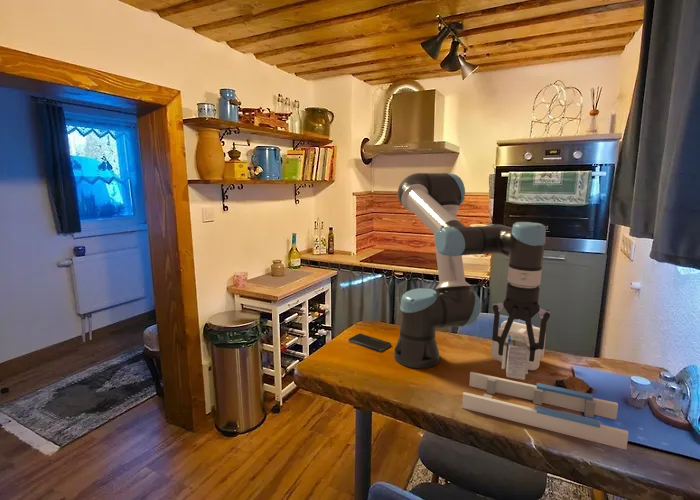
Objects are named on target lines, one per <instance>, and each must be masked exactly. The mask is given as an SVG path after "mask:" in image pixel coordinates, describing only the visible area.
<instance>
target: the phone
mask: <svg viewBox="0 0 700 500" xmlns="http://www.w3.org/2000/svg"><path fill="white" fill-rule="evenodd" d="M348 343H352V344H354V345H357V346H360V347H363V348H365V349H368V350H372V351H374V352H378V353H382V352H384V351H385V350H387V349H389V348H391V347H392V343H391V342H390V341H386V340H383V339H379V338H376V337H374V336H370V335H368V334H364V333H357V334H355V335H353V336H351V337H350V338H348Z"/></svg>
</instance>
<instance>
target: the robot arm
mask: <svg viewBox="0 0 700 500" xmlns="http://www.w3.org/2000/svg"><path fill="white" fill-rule="evenodd" d="M465 195H466V188H465V184H464V182H463V180H462V178H461V177H460V176H459V175H457V174H455V173H449V172H437V173H436V172H435V173H434V172H433V173H432V172H430V173H429V172H417V173H412V174H409V175H408V176H407V177H405V178H404V179H403V180H402V181H401V182H400V184H399V186H398V188H397V199H398V201H399V203H400V205H401V206H402V207H403V208H404V209H405V210H406V211H409V212H412V213H413V214H414V215H415V216H416V217H417V218H418V220H420V222H422V223H423V224H424V225H425V227H426V228H428V230H429V231H430V232H431V233H432V234H433V238H434V247H435V255H436V257H435V258H436V265H437V272H438V280H439V283H438V285H437V286H436V287H435V290H434V289H432V288H423V287H422V288H420V287H419V288H414V289H409V290H408V291H406V292H405V293H403V294H402V296H401V298H400V299H401V300H400V306H399V308H400V317H399V319H400V323H399V328H400V329H399V336H398V340H397V343H396V344H395V348H394V350H393V351H394V354H393V358H394V359H395V361H396V362H397V363H398V364H399V365H402V366H405V367H408V368H414V369H428V368H432V367H435V366H437V365H438V364H439V362H440V351H439V346H438V344H437V340H436V329H442V328H443V329H444V328H455V327H464V326H469V325H472V324H474V323H476V321H477V320H478V318H479V316H480V313H481V299H480V297H479V296H478V293H477V292H476V291H474V290H472V288H471V284H470V283H468V282H467V281H466V278H465V270H464V264H463V256H472V255H473V256H474V255H494V254H495V255H496V254H499V255H503V256H507V257H509V262H508V270H507V272H508V274H507V281H508V283H507V285H506V291H505V292H506V295H505V299H504V301H502V302H499V303H498V302H494V303H493V305H492V309H493V315H494V316H493V325H492V326H493V327H492V333H493V335H492V334H491V341H492V340H493V341H496V342H498V343H499V350H498V354H499V355H501V356H503V357H502V362H501V369H502V370H506V367H505V362H506V352H507V342H505V340H506V337H507V335H508V332H509V330H510V327H511V325H512V323H513V322H514V320H515V321H516V320H517V321H518V320H520V321H523V322H525V323H524V324H525V325H526V327H527V333H528V339H529V344H530V346H527V348H528V354H527V364H526V373H525V375H528V374H529V370H528V366H529V361H532V362H533V361H534V357H535V351H536V350H537V349H540V350H542V349H543V348H544V349H545V347H544V341H545V342H546V338H545V333H546V330H547V322H548V321H549V319H550V318H551V317H550V316H551V312H550V310H549V309H543V308H541V307H540V305H539V296H540V288H541V287H539V285H541V282H542V281H541V280H542V271H543V262H544V261H543V260H544V252H545V245H546V242H547V241H546V240H547V239H546V233H547V230H546V229H547V228H546V226H545V225H544V224H543V223H539V222H531V221H516V222H514V223H513V224H512V226H507V225H503V224H500V223H498V224H497V223H494V224H493V223H490V224H487V225H480V226H478V225H477V226H476V225H475V226H466V225H464V224H463V223H462V222H461V221H460V220H458V217H457V213H458V211H459V210H460V209H461V205H462V204H463V202H464V201H465ZM503 308H504V309H505V311H506V312H507V314H508V318H507V320H506V321H507V322H506V325H505V327H504V330H503V332H502V335H501V337H500V336H498V329H499V328H500V319H501V318H500V317H501V312H502V311H503ZM537 314H539V318H540V324H539V325H540V326H539V328H540V333H539V342H538V343H535V339H534V333H533V328H532V326H533V323H532V318H533V317H535V316H536V315H537Z"/></svg>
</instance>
